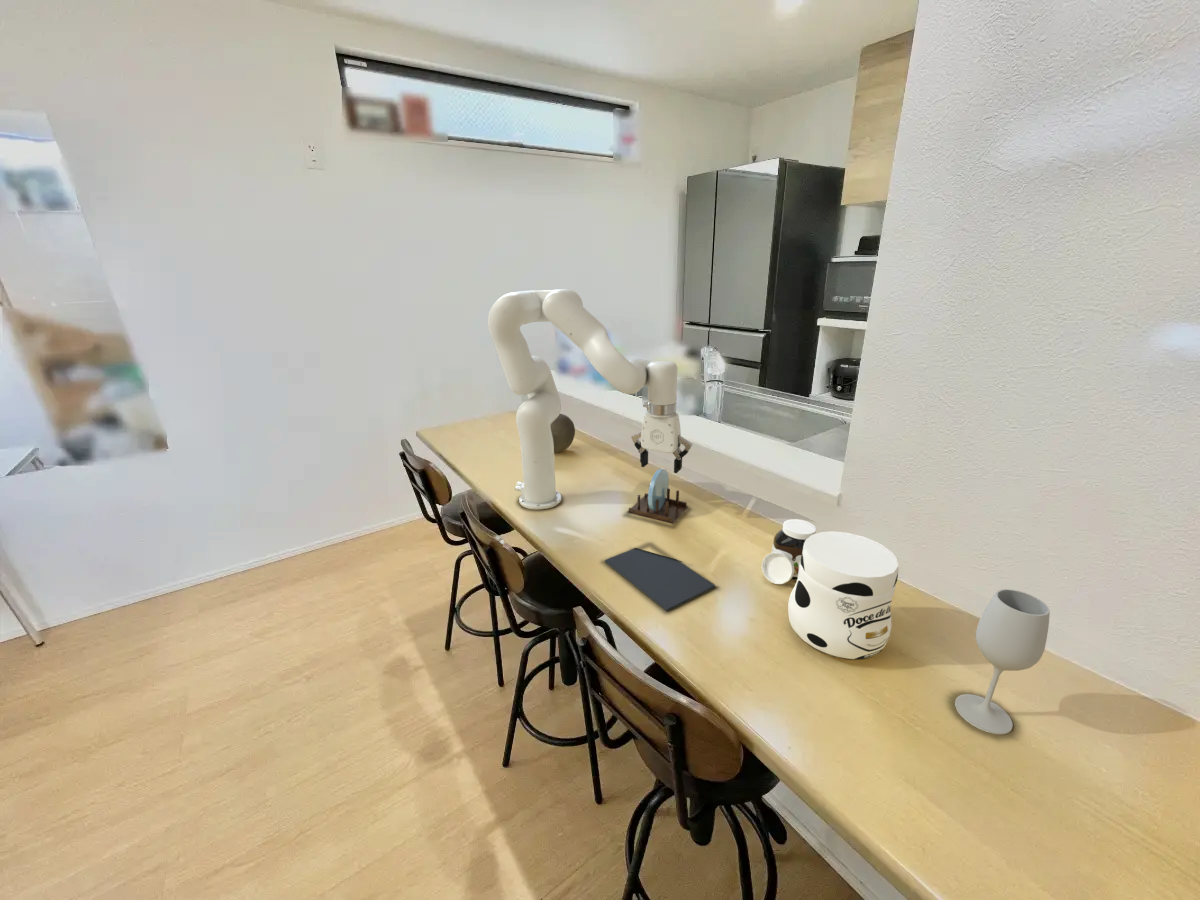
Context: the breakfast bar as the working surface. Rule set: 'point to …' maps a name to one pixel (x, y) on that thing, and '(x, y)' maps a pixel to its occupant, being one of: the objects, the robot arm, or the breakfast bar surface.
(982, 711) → the wineglass
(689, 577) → the mat
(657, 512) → the rack
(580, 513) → the breakfast bar surface
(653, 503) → the plate
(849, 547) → the milk container
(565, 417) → the dark grey ball
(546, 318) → the robot arm
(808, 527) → the spread jar
